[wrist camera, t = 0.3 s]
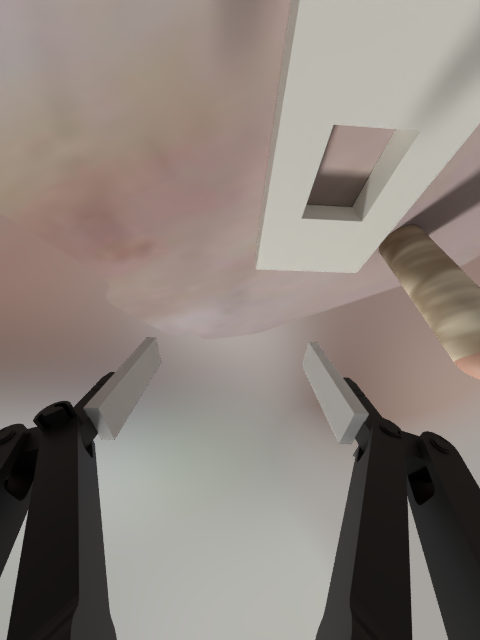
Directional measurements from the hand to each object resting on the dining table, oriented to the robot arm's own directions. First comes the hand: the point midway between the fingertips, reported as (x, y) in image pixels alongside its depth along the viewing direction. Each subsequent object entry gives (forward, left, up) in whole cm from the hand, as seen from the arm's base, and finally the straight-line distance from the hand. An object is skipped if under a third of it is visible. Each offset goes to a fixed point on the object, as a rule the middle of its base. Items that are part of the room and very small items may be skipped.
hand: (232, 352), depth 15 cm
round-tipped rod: (-2, +22, -15) cm, 27 cm away
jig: (-9, +10, -15) cm, 20 cm away
